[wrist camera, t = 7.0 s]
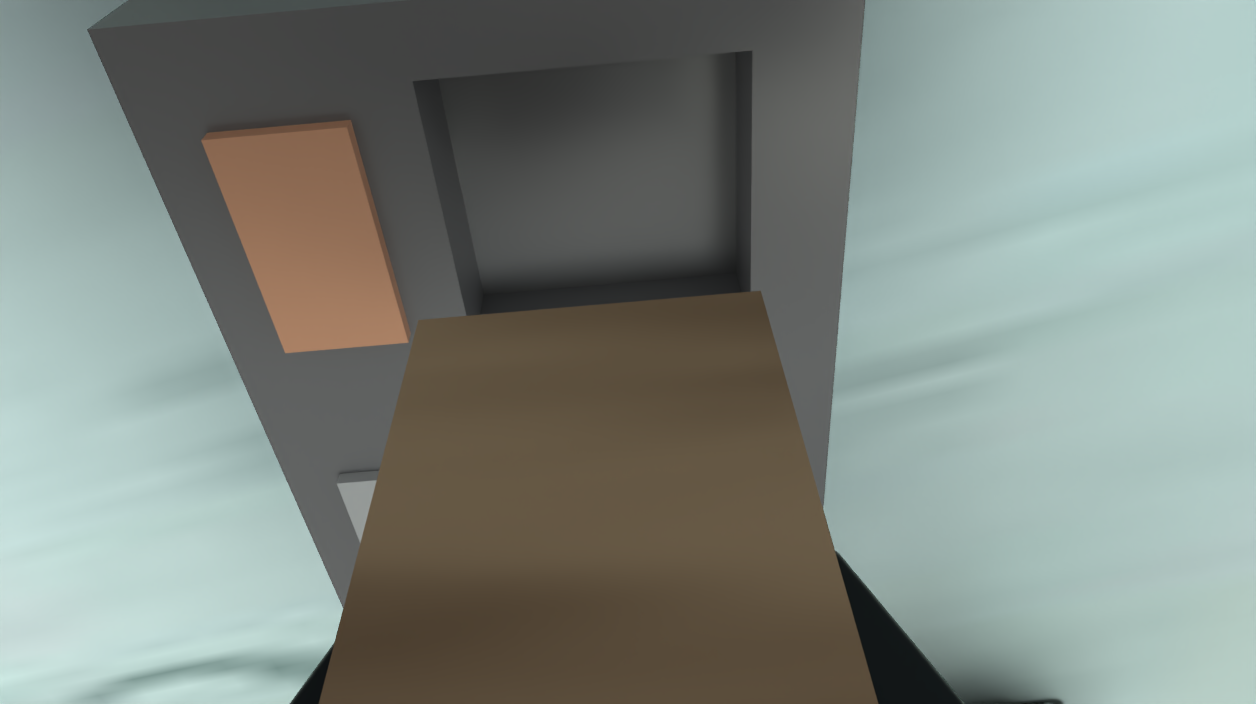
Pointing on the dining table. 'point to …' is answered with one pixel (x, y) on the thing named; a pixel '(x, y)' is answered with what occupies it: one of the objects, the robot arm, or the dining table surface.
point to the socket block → (484, 186)
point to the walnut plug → (597, 520)
